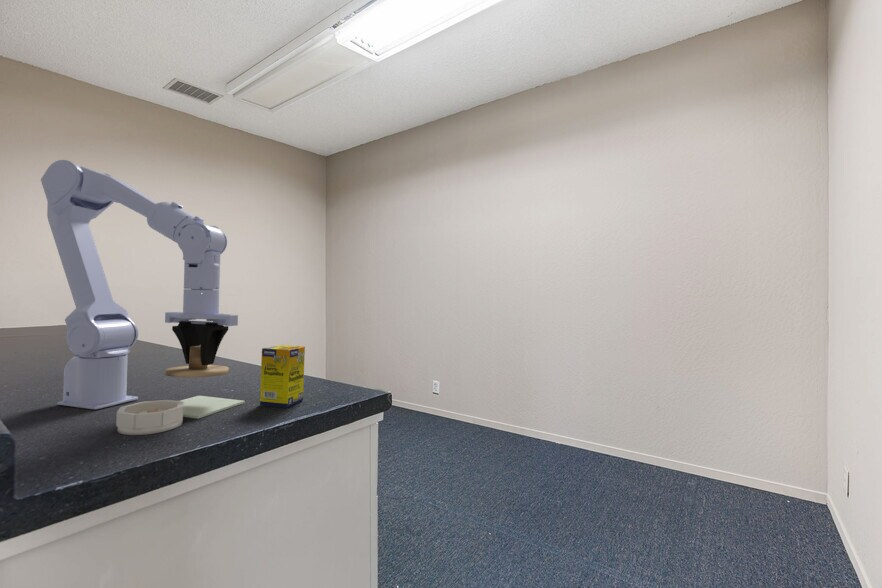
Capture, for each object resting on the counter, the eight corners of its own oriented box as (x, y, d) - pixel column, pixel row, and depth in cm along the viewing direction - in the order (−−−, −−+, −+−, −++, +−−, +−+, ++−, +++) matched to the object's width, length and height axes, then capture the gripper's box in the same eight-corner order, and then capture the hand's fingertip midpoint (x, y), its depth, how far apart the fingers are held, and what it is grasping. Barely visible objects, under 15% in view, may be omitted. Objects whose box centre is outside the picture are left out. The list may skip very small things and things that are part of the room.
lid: (151, 374, 73) (152, 347, 73) (197, 367, 83) (198, 343, 83) (198, 379, 71) (200, 350, 71) (240, 371, 80) (241, 346, 81)
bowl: (103, 431, 63) (104, 411, 63) (154, 416, 71) (155, 398, 71) (147, 437, 61) (147, 417, 61) (195, 421, 69) (195, 403, 69)
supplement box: (287, 408, 78) (289, 349, 78) (258, 405, 79) (260, 347, 79) (304, 400, 84) (305, 345, 84) (277, 398, 85) (278, 344, 85)
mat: (146, 411, 73) (147, 409, 73) (198, 397, 84) (198, 395, 84) (198, 418, 70) (198, 416, 70) (244, 402, 81) (245, 400, 81)
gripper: (150, 288, 75) (148, 364, 75) (217, 290, 71) (215, 370, 71) (184, 289, 82) (182, 358, 82) (246, 290, 78) (244, 363, 78)
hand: (199, 363), depth 77 cm, fingers closed on lid, 3 cm apart
